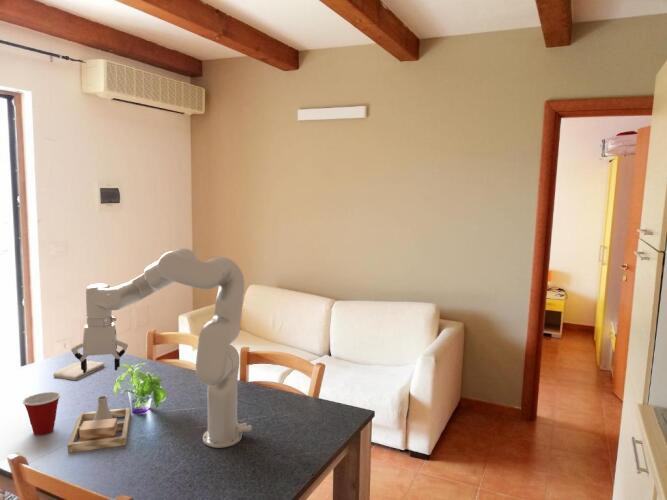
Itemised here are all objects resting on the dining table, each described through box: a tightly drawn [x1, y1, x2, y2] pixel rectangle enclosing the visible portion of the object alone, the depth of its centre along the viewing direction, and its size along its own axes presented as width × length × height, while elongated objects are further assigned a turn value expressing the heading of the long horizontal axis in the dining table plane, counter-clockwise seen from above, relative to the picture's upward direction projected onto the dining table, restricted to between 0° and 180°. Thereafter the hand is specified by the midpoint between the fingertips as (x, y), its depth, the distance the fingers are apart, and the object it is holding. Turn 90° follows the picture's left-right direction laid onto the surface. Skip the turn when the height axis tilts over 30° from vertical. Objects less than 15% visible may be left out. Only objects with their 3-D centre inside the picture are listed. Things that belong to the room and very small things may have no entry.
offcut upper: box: [79, 417, 118, 440], centre depth 159 cm, size 10×6×3 cm, turn 105°
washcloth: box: [52, 359, 106, 381], centre depth 215 cm, size 12×18×3 cm, turn 165°
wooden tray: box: [67, 407, 131, 453], centre depth 165 cm, size 16×22×2 cm
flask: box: [93, 395, 114, 420], centre depth 169 cm, size 7×7×10 cm
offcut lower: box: [79, 429, 118, 442], centre depth 159 cm, size 10×6×3 cm, turn 108°
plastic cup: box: [22, 391, 61, 436], centre depth 164 cm, size 11×11×12 cm
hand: (100, 370), depth 167 cm, fingers open, 9 cm apart
